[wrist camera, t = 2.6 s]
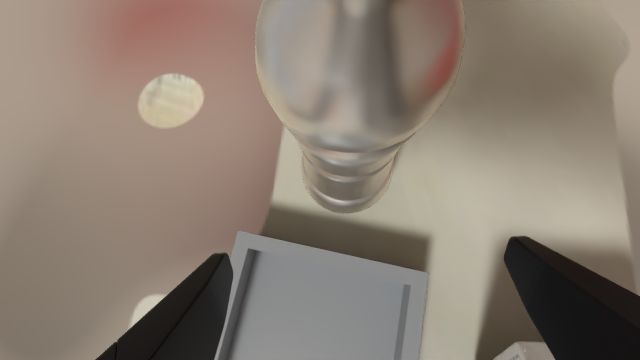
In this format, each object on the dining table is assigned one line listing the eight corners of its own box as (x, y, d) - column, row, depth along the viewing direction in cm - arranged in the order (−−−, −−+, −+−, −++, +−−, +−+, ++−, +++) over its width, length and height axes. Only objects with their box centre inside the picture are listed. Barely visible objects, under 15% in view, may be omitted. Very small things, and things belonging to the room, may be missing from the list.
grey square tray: (388, 505, 18) (396, 545, 15) (192, 442, 19) (170, 469, 17) (418, 271, 21) (428, 273, 18) (249, 233, 22) (238, 230, 20)
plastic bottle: (295, 205, 23) (44, -83, 3) (320, 129, 24) (242, -363, 5) (374, 228, 22) (632, 18, 3) (395, 148, 23) (654, -360, 4)
